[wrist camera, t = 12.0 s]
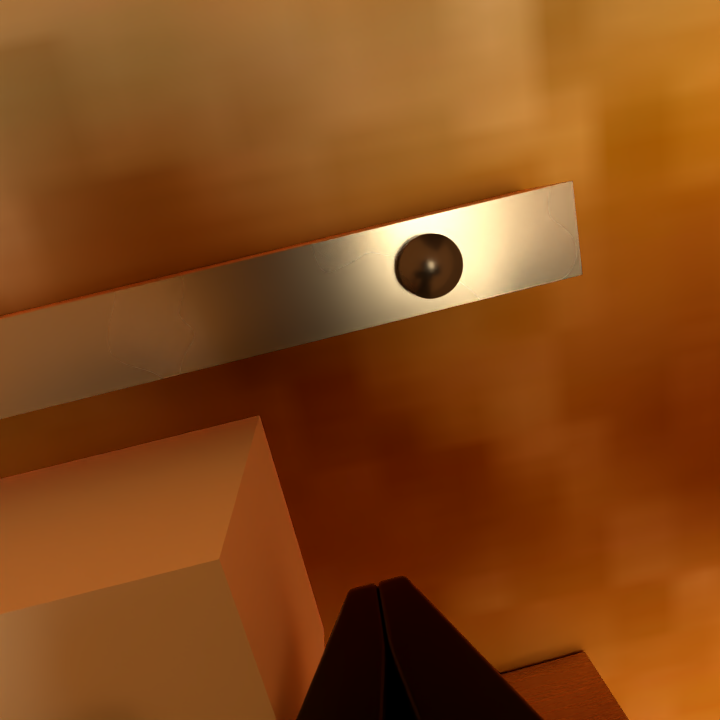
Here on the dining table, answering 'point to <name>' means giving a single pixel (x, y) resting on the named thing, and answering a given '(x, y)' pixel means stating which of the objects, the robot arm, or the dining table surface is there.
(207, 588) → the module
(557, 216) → the bracket
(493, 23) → the dining table surface
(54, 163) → the dining table surface
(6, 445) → the dining table surface
